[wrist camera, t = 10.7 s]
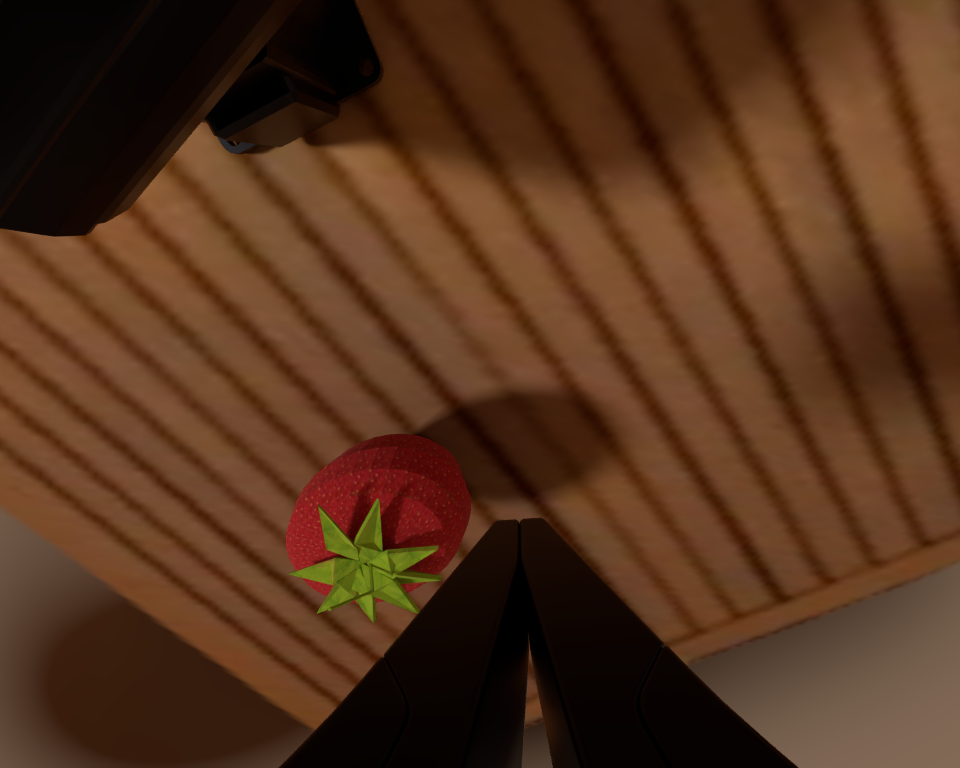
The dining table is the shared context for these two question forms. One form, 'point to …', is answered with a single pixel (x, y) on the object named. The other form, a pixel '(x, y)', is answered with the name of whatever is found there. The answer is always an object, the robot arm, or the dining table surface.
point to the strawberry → (379, 522)
